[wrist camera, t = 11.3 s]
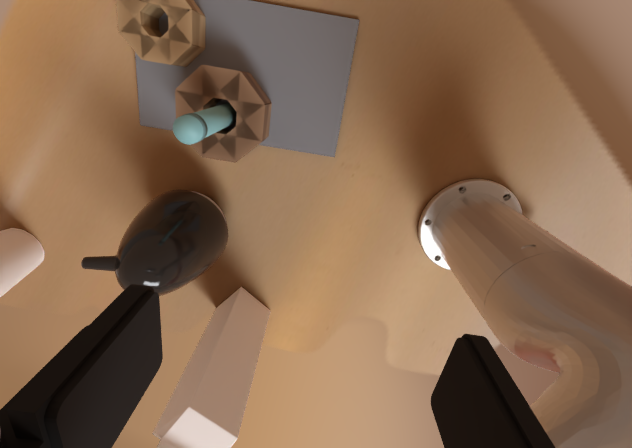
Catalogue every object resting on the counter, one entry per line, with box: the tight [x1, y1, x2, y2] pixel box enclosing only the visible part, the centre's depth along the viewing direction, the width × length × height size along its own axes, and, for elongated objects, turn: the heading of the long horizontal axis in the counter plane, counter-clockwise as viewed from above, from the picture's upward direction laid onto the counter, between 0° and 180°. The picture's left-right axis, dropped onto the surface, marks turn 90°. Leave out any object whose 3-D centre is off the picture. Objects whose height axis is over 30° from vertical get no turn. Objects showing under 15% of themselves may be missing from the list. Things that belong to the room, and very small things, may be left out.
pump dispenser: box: [81, 190, 228, 296], centre depth 35 cm, size 10×10×15 cm
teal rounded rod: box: [173, 103, 237, 145], centre depth 30 cm, size 2×2×12 cm
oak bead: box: [116, 0, 206, 67], centre depth 31 cm, size 7×7×4 cm
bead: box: [175, 65, 272, 162], centre depth 34 cm, size 9×9×4 cm
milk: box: [153, 287, 270, 448], centre depth 37 cm, size 6×6×22 cm
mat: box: [135, 0, 359, 157], centre depth 34 cm, size 23×14×1 cm, turn 81°
